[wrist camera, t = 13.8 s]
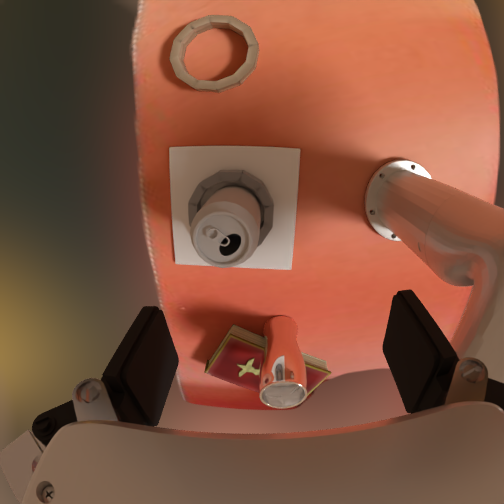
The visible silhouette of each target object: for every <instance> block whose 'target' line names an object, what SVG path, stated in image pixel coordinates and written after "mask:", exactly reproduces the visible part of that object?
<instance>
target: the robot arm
mask: <svg viewBox="0 0 504 504" xmlns="http://www.w3.org/2000/svg"><path fill="white" fill-rule="evenodd" d="M411 166H412V167H411ZM380 174H381V176H380V177H379V175H380ZM364 203H365V211H366V215H367V218H368V220H369V222H370V224H371V226H372V227H373V228H374V229H375V230H376V231H377V232H378V233H379V234H380V235H381V236H383V237H384V238H386V239H389V240H393V241H403V242H404V243H405V244H406V245H407V246H408V247H409V248H410V249H411V250H412V251H413V252H414V253H415V254H416V255H417V256H418V257H419V258H420V259H421V260H422V261H424V262H425V263H426V264H427V265H428V266H429V267H430V268H431V269H432V271H433V272H434V273H435V274H436V275H437V276H438V277H439V278H441V279H442V280H443V281H445V282H446V283H448V284H451V285H454V286H472V285H474V287H473V291H472V294H471V297H470V299H469V302H468V304H467V308H466V310H465V313H464V315H463V317H462V319H461V321H460V323H459V326H458V328H457V330H456V332H455V334H454V336H453V338H452V340H451V342H450V343H449V341H448V340H447V338H446V337H445V335H444V334H443V332H442V331H441V329H440V328H439V326H438V325H437V324H436V322H435V321H434V319H433V318H432V317H431V315H430V314H429V312H428V311H427V310H426V308H425V307H424V305H423V304H422V303H421V301H420V300H419V299H418V297H417V296H416V295H415V293H414V292H413V291H412V290H403V291H398V292H397V294H396V295H394V296H393V300H392V305H391V310H390V315H389V320H388V324H387V329H386V333H385V338H384V342H383V353H384V355H385V358H386V360H387V363H388V365H389V367H390V370H391V372H392V375H393V377H394V380H395V382H396V385H397V387H398V390H399V393H400V395H401V398H402V401H403V403H404V406H405V409H406V411H407V413H411V414H408V415H404V416H399V417H395V418H390V419H386V420H381V421H377V422H372V423H366V424H361V425H355V426H349V427H342V428H334V429H326V430H318V431H307V432H294V433H277V434H276V433H273V434H228V433H227V434H226V433H208V432H195V431H185V430H176V429H167V428H159V427H154V426H157V425H158V423H159V420H160V417H161V414H162V411H163V408H164V405H165V402H166V399H167V396H168V393H169V390H170V387H171V384H172V381H173V378H174V375H175V372H176V369H177V367H178V362H179V359H178V355H177V352H176V349H175V346H174V344H173V341H172V338H171V335H170V332H169V329H168V326H167V323H166V320H165V317H164V313H163V311H162V310H159V308H158V307H156V306H145V307H143V308H142V309H141V311H140V313H139V314H138V316H137V317H136V319H135V321H134V322H133V324H132V325H131V327H130V329H129V330H128V332H127V334H126V335H125V337H124V339H123V340H122V342H121V344H120V345H119V347H118V349H117V350H116V352H115V354H114V355H113V357H112V359H111V360H110V362H109V364H108V366H107V367H106V369H105V371H104V373H103V377H102V378H101V380H99V379H96V378H89V379H85V380H83V381H81V382H80V383H79V384H77V385H76V387H75V388H74V390H73V393H72V399H73V400H71V401H69V402H67V403H64V404H62V405H60V406H58V407H55V408H53V409H51V410H49V411H46V412H44V413H42V414H40V415H39V416H38V417H37V418H36V419H35V420H34V422H33V426H32V432H30V431H29V430H28V431H26V432H25V433H24V434H22V435H21V436H20V437H18V438H17V439H16V440H14V441H13V442H12V443H11V444H9V445H8V446H7V447H5V448H4V449H3V450H2V451H1V453H0V467H1V469H2V471H3V473H4V475H5V477H6V480H7V482H8V483H9V485H10V487H11V489H12V491H13V493H14V495H15V497H16V498H17V500H18V502H19V504H504V209H503V208H500V207H498V206H496V205H493V204H491V203H488V202H486V201H484V200H481V199H479V198H477V197H475V196H472V195H470V194H468V193H465V192H463V191H461V190H458V189H456V188H453V187H451V186H449V185H446V184H443V183H441V182H438V181H436V180H433V179H432V178H431V176H430V175H429V173H428V172H427V171H426V170H425V169H424V168H423V167H422V166H421V165H419V164H417V163H415V162H413V161H409V160H401V159H400V160H393V161H391V162H388V163H386V164H384V165H383V166H381V167H380V168H379V169H378V170H377V171H376V172H375V173H374V175H373V176H372V178H371V179H370V181H369V183H368V186H367V189H366V193H365V202H364ZM370 210H372V211H371V212H370Z"/></svg>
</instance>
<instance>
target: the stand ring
mask: <svg viewBox="0 0 504 504" xmlns="http://www.w3.org/2000/svg"><path fill="white" fill-rule="evenodd" d="M212 28H224V29H231V30H233V31H235V32H236V33H238V34H240V35H241V36H243V37H244V39H245V41H246V43H247V45H248V47H249V48H248V53H247V58H246V62H245V63H244V64H243V65H242V66H241V67H240V68H239V69H238V70H237V71H236V72H235V73H234V75H231V76H228V77H226V78H223V79H220V80H218V81H205V80H197V79H195V78H194V77H192V76H191V75H189V73H188V71H187V69H186V66H185V64H184V56H185V51H186V47H187V45H188V44H189V43H190V42H191V41H192V40H193V39H194V38H195V37H196V36H197V34H200V33H202V32H205V31H207V30H210V29H212ZM258 54H259V44H258V42H257V40H256V38H255V36H254V33H253V31H252V29H251V27H250V26H248V25H247V24H245V23H243V22H242V21H240V20H238V19H237V18H235V17H233V16H224V15H210V16H209V15H208V16H206V17H203V18H201V19H198V20H196V21H193V22H191V23H189V24H188V25H187V26H186V27H185V28H184V29H183V30H182V31H181V32H180V33H179V34H178V35H177V37H176V38H175V39H174V41H173V45H172V49H171V54H170V58H169V59H170V62H171V64H172V67H173V69H174V72H175V74H176V76H177V77H178V78H179V79H181V80H182V81H184V82H185V83H187V84H188V85H190V86H191V87H193V88H194V89H196V90H198V91H206V92H217V93H219V92H220V93H221V92H223V91H226V90H228V89H231V88H234V87H236V86H239V85H240V84H242V83H243V82H244V81H245V80H246V79H247V78H248V76H249V75H250V74H251V73H252V72H253V71H254V70H255V68H256V64H257V59H258Z"/></svg>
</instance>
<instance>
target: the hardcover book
mask: <svg viewBox="0 0 504 504" xmlns="http://www.w3.org/2000/svg"><path fill="white" fill-rule="evenodd" d="M265 343H266V341H265V338H264V337H262V336H260V335H257V334H255V333H252V332H250V331H248V330H245V329H243V328H241V327H238V326H236V325H234V324H233V325H232V327H231V329H230V330H229V332H228V333H227V335H226V336H225V338H224V339H223V341H222V342H221V344H220V346H219V347H218V349H217V350H216V352H215V353H214V355H213V356H212V358H211V359H210V360H207V363H206V367H205V373H207V374H209V375H212V376H215V377H217V378H220V379H222V380H225V381H228V382H230V383H233V384H236V385H238V386H241V387H244V388H247V389H250V390H253V391H256V392H259V393H260V390H259V368H260V362H261V358H262V355H263V351H264V348H265ZM301 353H302V352H301ZM302 356H303V359H304V362H305V367H306V374H307V395H309V394H310V393H311V392H312V391H313V390H314V389H315V388H316V387H317V386H318V385H319V384H321V383H322V382H323V381H324V380H325V379H326V378H327V377H328V376H329V375H330V374H331V372H330V371H328V369H327V364H326V361H324V360H321V359H319V358H316V357H313V356H310V355H308V354H305V353H302Z"/></svg>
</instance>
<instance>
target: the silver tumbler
mask: <svg viewBox="0 0 504 504" xmlns="http://www.w3.org/2000/svg"><path fill="white" fill-rule="evenodd" d="M263 332H264V337H265V341H266V343H265V348H264V351H263V355H262V358H261V362H260V368H259V390H260V399H261V401H262V402H263V403H264V404H266V405H267V406H270V407H273V408H290V407H294V406H296V405H299V404H300V403H302V402H303V401H304V400H305V399H306V397H307V374H306V367H305V362H304V359H303V356H302V353H301V351H300V348H299V346H298V343H297V333H298V326H297V324H296V322H295V321H294V320H293V319H291V318H290V317H287V316H276V317H273V318H271V319H269V320H268V321H267V322H266V323H265V325H264V328H263Z"/></svg>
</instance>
